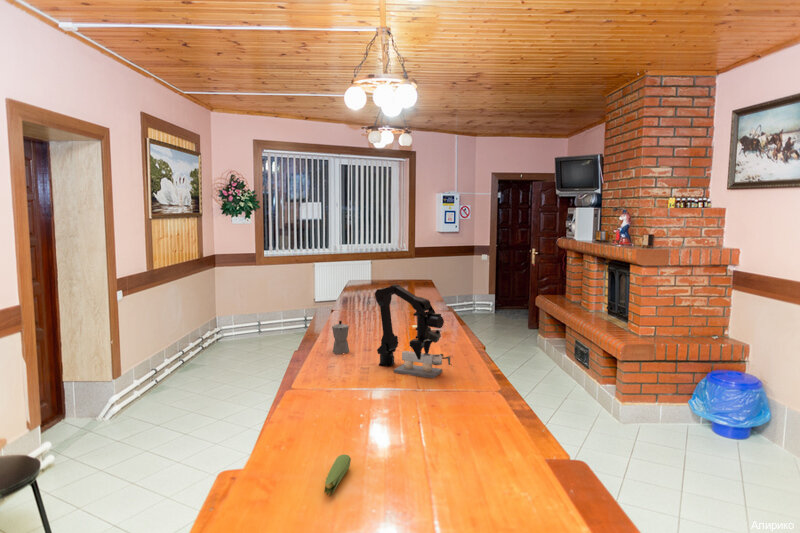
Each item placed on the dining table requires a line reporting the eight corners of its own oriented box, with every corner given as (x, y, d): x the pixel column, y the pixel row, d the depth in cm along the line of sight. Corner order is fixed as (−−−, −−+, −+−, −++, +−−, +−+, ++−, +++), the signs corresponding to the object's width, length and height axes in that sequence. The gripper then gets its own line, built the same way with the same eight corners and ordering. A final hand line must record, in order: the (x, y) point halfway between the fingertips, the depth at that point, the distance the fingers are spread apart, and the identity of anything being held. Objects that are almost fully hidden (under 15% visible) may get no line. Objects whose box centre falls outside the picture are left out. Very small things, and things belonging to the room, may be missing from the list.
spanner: (401, 360, 253) (401, 352, 253) (405, 358, 258) (405, 349, 257) (439, 365, 244) (439, 357, 244) (443, 363, 249) (443, 354, 248)
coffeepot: (349, 355, 284) (349, 322, 282) (332, 355, 283) (331, 323, 281) (348, 347, 299) (348, 317, 297) (332, 348, 298) (331, 317, 296)
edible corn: (355, 452, 160) (341, 447, 161) (334, 488, 141) (319, 482, 141) (351, 467, 161) (337, 462, 162) (329, 505, 142) (314, 499, 142)
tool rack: (393, 372, 252) (393, 361, 252) (403, 366, 262) (403, 355, 262) (433, 378, 243) (433, 367, 242) (442, 371, 253) (442, 360, 252)
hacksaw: (439, 355, 283) (439, 353, 282) (458, 356, 282) (458, 353, 281) (437, 369, 259) (437, 366, 259) (458, 369, 258) (458, 366, 258)
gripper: (430, 331, 237) (430, 364, 239) (445, 323, 254) (445, 354, 255) (408, 328, 242) (409, 361, 244) (424, 321, 259) (424, 351, 260)
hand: (423, 357), depth 251 cm, fingers open, 9 cm apart
